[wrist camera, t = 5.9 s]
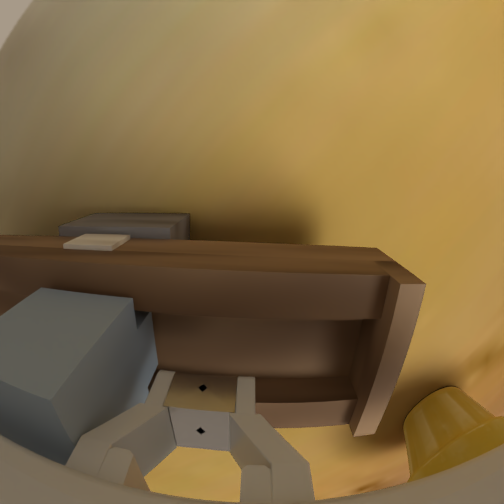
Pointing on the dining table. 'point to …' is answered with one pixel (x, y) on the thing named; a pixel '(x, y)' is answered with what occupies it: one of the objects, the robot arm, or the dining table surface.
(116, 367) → the block
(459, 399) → the plant pot
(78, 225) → the beam
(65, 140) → the dining table surface
